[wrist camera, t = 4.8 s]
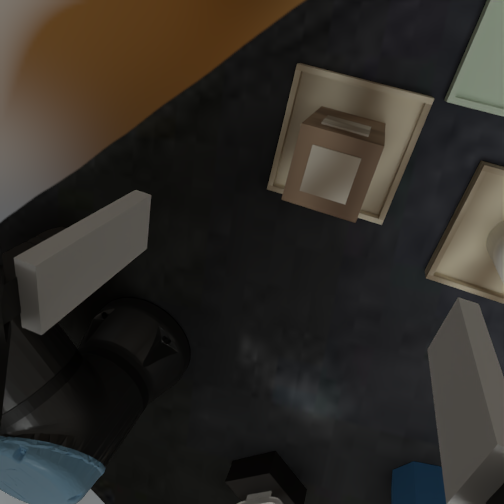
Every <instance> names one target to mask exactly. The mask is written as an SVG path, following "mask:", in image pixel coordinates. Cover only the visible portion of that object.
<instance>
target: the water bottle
mask: <svg viewBox="0 0 504 504" xmlns="http://www.w3.org/2000/svg"><path fill="white" fill-rule="evenodd" d="M391 504H446V497H445V489H444V481H443V472H442V467H440V466H435V465H430V464H425V463H419V462H414V461H413V462H411V463H408V464H406V465H404V466H401V467H399V468H396V469H394V470H393V472H392V484H391Z"/></svg>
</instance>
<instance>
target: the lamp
mask: <svg viewBox="0 0 504 504" xmlns="http://www.w3.org/2000/svg"><path fill="white" fill-rule="evenodd" d="M225 482H226V484H227V485H228V486H229V487H230V488H231V489H232V491H233V492H234V493H235V494H236V495H237V496H238V497H239V499H240V500H241V501H242V502H239V503H237V504H304V501H305V496H306V488H305V487H304V486H303V485H302V483H301V482H300V481H299V480H298V478H297V477H296V476H295V475H294V473H293V472H292V471H291V470H290V469H289V467H288V466H287V465H286V464H285V462H284V461H283V460H282V459H281V457H280V456H279V455H278V454H277V452H276V451H274V452H270V453H266V454H261V455H257V456H253V457H248V458H244V459H240V460H235V461H233V463H232V465H231V468H230V471H229V473H228V476H227V478H226V481H225Z"/></svg>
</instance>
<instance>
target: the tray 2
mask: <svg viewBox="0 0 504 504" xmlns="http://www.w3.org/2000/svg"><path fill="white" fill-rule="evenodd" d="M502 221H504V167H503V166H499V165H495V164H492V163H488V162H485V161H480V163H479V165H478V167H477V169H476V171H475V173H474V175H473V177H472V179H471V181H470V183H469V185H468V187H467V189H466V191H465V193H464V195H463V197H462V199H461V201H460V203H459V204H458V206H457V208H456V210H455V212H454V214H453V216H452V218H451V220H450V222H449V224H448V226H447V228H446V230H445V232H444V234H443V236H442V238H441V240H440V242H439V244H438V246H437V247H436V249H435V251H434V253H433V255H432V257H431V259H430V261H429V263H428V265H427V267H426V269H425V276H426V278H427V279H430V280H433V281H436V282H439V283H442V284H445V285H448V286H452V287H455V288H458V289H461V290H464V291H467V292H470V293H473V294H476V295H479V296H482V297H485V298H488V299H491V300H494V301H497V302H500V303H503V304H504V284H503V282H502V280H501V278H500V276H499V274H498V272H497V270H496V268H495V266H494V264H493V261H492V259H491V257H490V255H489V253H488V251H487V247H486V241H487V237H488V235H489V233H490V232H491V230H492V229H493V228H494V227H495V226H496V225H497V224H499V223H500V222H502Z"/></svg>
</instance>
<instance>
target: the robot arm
mask: <svg viewBox="0 0 504 504" xmlns="http://www.w3.org/2000/svg"><path fill="white" fill-rule="evenodd" d="M150 204H151V195H150V194H147V193H144V192H141V191H138V190H134V191H133V192H131V193H129V194H127V195H126V196H124V197H122V198H120V199H118V200H117V201H115V202H113V203H111V204H109V205H108V206H106V207H104V208H102V209H100V210H99V211H97V212H95V213H93V214H91V215H90V216H88V217H86V218H84V219H82V220H81V221H79V222H77V223H75V224H73V225H72V226H70V227H68V228H64V227H58V228H54V229H50V230H47V231H45V232H43V233H41V234H39V235H37V236H36V238H35V237H34V238H32V239H30V240H28V241H27V242H24V243H22V244H20V245H18V246H17V247H15V248H13V249H11V250H9V251H7V252H5V253H3V254H2V252H1V245H0V490H2V491H4V492H5V493H7V494H9V495H11V496H13V497H15V498H17V499H19V500H21V501H24V502H26V503H29V504H76V503H77V502H79V501H80V500H81V499H82V498H83V497H84V496H85V494H86V493H87V492H88V490H89V489H90V488H91V487H92V486H93V484H94V483H95V482H96V481H97V479H98V478H99V477H100V476H101V475H102V474H103V473H104V472H105V468H106V466H107V465H108V463H109V462H110V460H111V459H112V457H113V456H114V454H115V453H116V451H117V450H118V448H119V447H120V445H121V444H122V442H123V441H124V439H125V438H126V436H127V435H128V433H129V432H130V430H131V429H132V427H133V426H134V424H135V423H136V421H137V420H138V418H139V417H140V415H141V414H142V412H143V411H144V409H145V408H146V406H147V405H148V404H149V403H150V402H152V401H153V400H154V399H156V398H157V397H158V396H160V395H161V394H162V393H164V392H165V391H167V390H168V389H169V388H171V387H172V386H173V385H175V384H176V383H177V382H178V381H179V379H180V378H181V376H182V375H183V373H184V372H185V370H186V368H187V367H188V364H189V361H190V348H189V344H188V341H187V338H186V336H185V334H184V332H183V331H182V329H181V328H180V326H179V325H178V324H177V323H176V321H175V320H174V319H173V318H172V317H171V316H170V315H168V314H167V313H166V312H165V311H163V310H162V309H160V308H159V307H157V306H155V305H153V304H151V303H149V302H147V301H144V300H140V299H136V298H120V299H116V300H113V301H111V302H110V303H108V304H107V305H106V306H105V307H104V308H103V309H101V310H100V311H99V312H98V313H97V314H96V316H95V317H94V318H93V320H92V322H91V324H90V326H89V328H88V330H87V332H86V334H85V336H84V338H83V340H82V342H81V344H80V346H79V349H78V350H77V348H76V347H75V345H74V344H73V343H72V341H71V340H70V339H69V337H68V336H67V335H66V333H65V332H64V331H63V330H62V328H61V327H60V326H59V324H58V323H57V322H58V321H59V320H61V319H62V318H63V317H64V316H66V315H67V314H68V313H69V312H70V311H72V310H73V309H74V308H75V307H76V306H78V305H79V304H80V303H81V302H83V301H84V300H85V299H86V298H87V297H89V296H90V295H91V294H92V293H94V292H95V291H96V290H97V289H98V288H100V287H101V286H102V285H103V284H104V283H106V282H107V281H108V280H109V279H111V278H112V277H113V276H114V275H115V274H117V273H118V272H119V271H120V270H121V269H123V268H124V267H125V266H126V265H128V264H129V263H130V262H131V261H132V260H134V259H135V258H136V257H137V256H139V255H140V254H141V253H142V252H143V251H145V250H146V249H147V241H148V229H149V216H150ZM428 357H429V365H430V373H431V382H432V390H433V398H434V406H435V415H436V423H437V431H438V439H439V448H440V456H441V464H442V472H443V481H444V489H445V497H446V504H504V377H503V374H502V371H501V368H500V365H499V362H498V359H497V356H496V353H495V350H494V347H493V345H492V342H491V339H490V336H489V333H488V330H487V327H486V324H485V321H484V318H483V315H482V312H481V309H480V306H479V304H477V303H474V302H471V301H468V300H465V299H462V298H459V297H458V298H457V300H456V302H455V303H454V305H453V307H452V308H451V310H450V312H449V314H448V315H447V317H446V319H445V320H444V322H443V324H442V325H441V327H440V329H439V331H438V332H437V334H436V336H435V337H434V339H433V341H432V342H431V344H430V346H429V348H428Z"/></svg>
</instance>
